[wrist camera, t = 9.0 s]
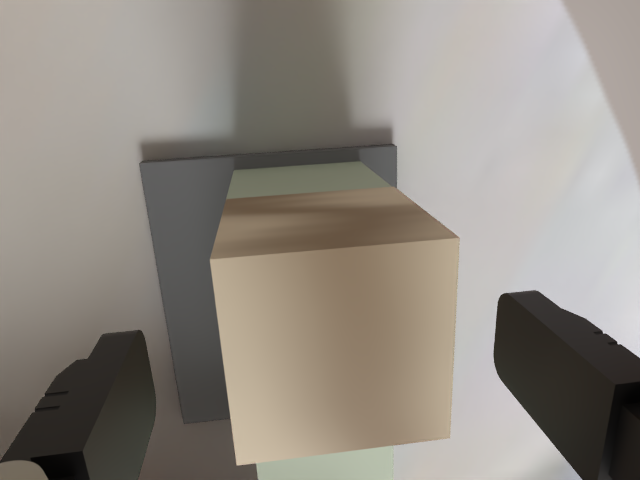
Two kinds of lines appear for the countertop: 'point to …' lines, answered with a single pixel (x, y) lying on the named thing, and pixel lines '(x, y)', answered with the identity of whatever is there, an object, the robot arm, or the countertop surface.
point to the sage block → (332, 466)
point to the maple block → (334, 322)
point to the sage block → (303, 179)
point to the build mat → (195, 251)
